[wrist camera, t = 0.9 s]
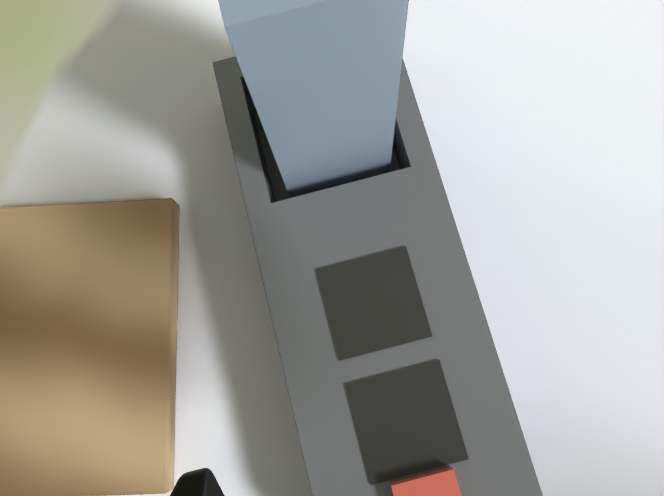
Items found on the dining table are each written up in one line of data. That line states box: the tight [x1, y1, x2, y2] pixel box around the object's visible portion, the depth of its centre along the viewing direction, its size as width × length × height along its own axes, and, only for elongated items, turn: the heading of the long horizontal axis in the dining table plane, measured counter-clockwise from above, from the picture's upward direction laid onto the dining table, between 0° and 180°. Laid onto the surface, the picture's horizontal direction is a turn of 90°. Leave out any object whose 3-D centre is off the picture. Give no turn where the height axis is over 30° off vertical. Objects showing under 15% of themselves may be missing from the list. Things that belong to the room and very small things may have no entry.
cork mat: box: [0, 198, 179, 496], centre depth 23 cm, size 11×11×1 cm
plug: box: [218, 0, 409, 198], centre depth 19 cm, size 4×4×12 cm
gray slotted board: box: [213, 57, 543, 496], centre depth 22 cm, size 18×7×4 cm, turn 14°
